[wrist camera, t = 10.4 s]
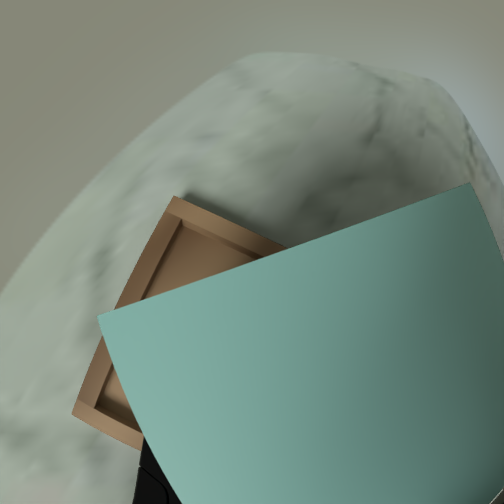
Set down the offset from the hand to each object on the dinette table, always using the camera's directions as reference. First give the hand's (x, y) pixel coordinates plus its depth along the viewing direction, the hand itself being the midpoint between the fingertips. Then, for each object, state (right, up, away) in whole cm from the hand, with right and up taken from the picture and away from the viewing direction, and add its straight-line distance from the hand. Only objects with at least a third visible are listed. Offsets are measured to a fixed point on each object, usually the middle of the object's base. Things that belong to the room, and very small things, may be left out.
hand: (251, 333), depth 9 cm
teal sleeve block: (-1, -3, +6) cm, 7 cm away
